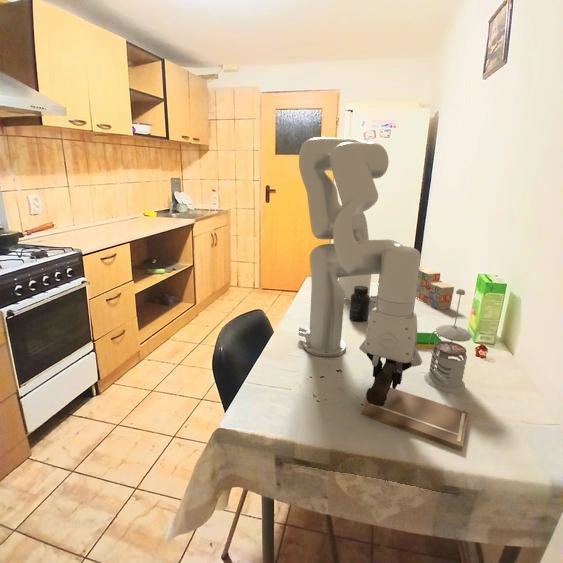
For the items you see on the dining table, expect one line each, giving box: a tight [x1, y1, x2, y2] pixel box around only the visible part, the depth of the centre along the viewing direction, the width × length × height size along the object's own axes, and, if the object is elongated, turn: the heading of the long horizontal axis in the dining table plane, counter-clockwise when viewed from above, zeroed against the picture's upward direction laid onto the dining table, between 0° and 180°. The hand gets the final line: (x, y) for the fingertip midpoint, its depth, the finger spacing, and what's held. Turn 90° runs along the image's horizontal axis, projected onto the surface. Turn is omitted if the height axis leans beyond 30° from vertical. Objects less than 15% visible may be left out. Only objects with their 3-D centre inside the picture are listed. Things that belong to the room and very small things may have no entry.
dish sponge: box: [416, 332, 443, 350], centre depth 111 cm, size 7×14×2 cm, turn 89°
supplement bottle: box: [348, 286, 371, 323], centre depth 127 cm, size 7×7×12 cm
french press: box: [423, 288, 472, 394], centre depth 88 cm, size 10×12×25 cm
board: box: [360, 386, 469, 452], centre depth 77 cm, size 20×12×1 cm, turn 58°
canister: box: [338, 274, 372, 301], centre depth 151 cm, size 14×14×20 cm
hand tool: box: [365, 358, 396, 406], centre depth 78 cm, size 19×4×5 cm, turn 149°
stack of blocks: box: [415, 265, 455, 310], centre depth 148 cm, size 21×6×12 cm, turn 13°
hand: (386, 382), depth 79 cm, fingers closed on hand tool, 3 cm apart
